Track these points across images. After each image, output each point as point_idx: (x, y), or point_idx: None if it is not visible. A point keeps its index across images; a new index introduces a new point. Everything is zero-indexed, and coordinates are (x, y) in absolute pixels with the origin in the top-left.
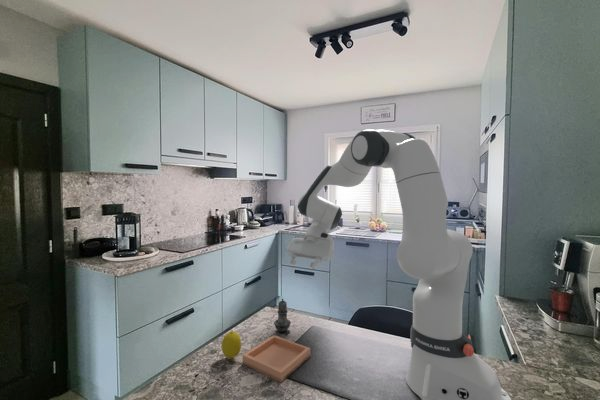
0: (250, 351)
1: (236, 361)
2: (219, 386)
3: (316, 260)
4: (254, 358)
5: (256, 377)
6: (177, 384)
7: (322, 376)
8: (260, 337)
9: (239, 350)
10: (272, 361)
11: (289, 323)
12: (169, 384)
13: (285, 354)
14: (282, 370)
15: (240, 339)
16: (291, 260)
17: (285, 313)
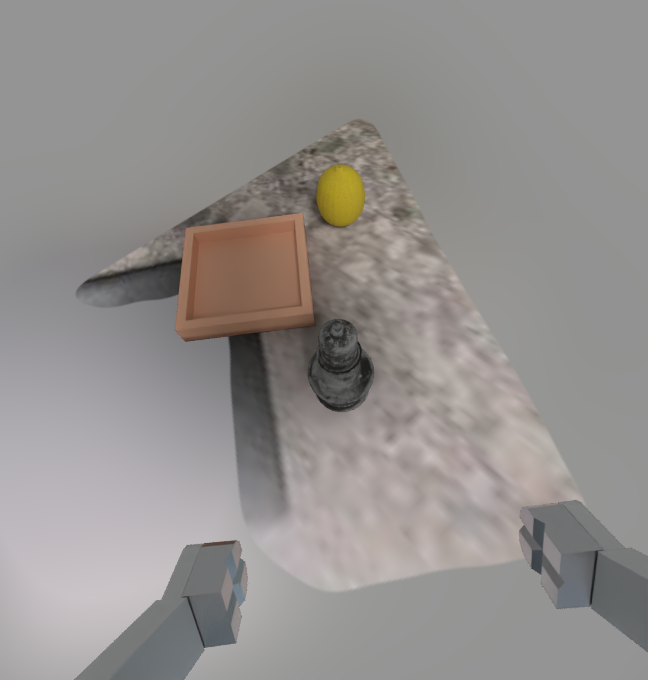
0: (299, 229)
1: (323, 225)
2: (284, 177)
3: (120, 651)
4: (269, 220)
5: None
6: (346, 143)
7: (125, 304)
8: (371, 319)
9: (320, 213)
10: (246, 260)
11: (311, 381)
12: (356, 136)
13: (238, 296)
14: (187, 232)
15: (325, 201)
16: (589, 524)
17: (317, 350)
